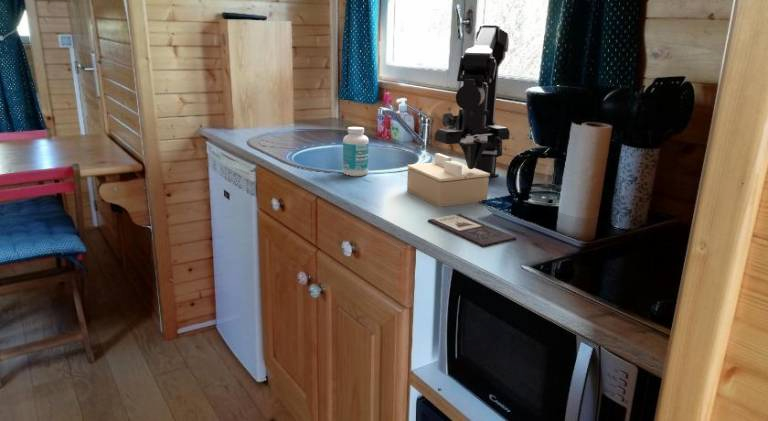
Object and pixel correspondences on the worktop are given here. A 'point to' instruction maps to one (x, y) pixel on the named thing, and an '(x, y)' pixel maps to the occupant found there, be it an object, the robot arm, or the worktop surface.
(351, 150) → the pill bottle
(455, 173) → the outer lid
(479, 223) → the chocolate bar
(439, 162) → the inner lid
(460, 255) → the worktop surface
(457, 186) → the carton
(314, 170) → the worktop surface
